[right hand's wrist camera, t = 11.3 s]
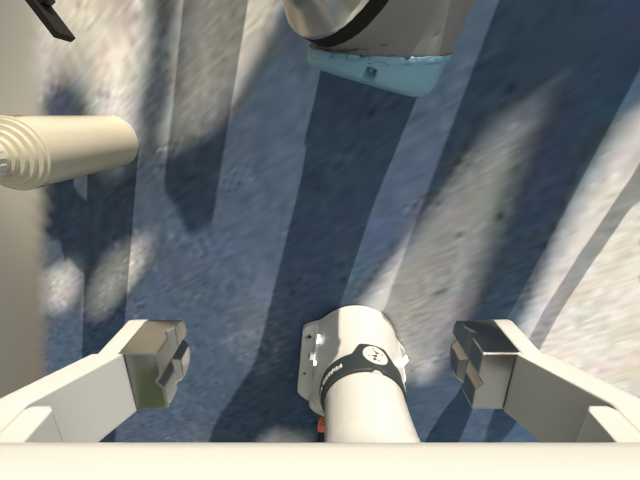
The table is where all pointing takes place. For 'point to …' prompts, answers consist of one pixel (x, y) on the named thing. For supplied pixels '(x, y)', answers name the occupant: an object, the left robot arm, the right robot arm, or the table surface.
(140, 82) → the table surface
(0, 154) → the cap
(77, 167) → the bottle
